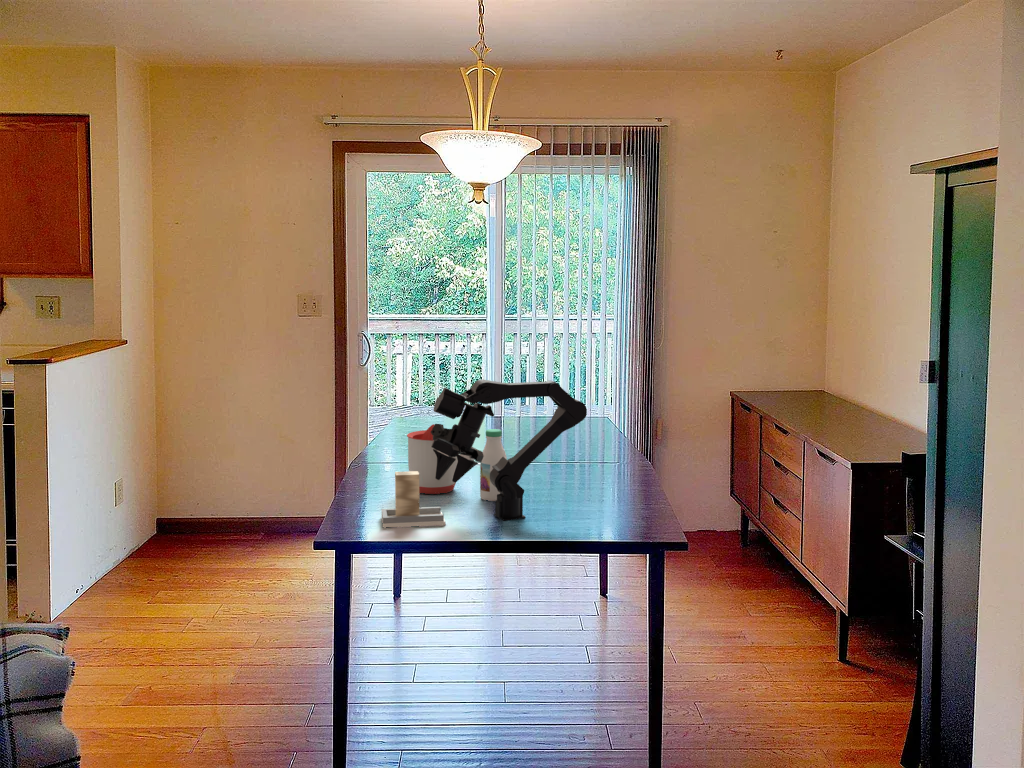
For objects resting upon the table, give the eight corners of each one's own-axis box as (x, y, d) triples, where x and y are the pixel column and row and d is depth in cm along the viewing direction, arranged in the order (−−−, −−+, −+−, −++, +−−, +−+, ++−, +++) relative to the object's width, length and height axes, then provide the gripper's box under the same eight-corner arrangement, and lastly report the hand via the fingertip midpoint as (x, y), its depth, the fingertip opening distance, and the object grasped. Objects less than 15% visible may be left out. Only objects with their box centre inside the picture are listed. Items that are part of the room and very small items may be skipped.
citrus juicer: (464, 497, 274) (463, 429, 272) (404, 496, 275) (403, 428, 272) (467, 484, 290) (467, 420, 287) (411, 484, 290) (410, 419, 288)
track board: (441, 515, 255) (441, 506, 255) (445, 525, 245) (445, 515, 245) (381, 517, 252) (381, 508, 252) (383, 528, 243) (383, 518, 242)
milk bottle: (506, 495, 277) (506, 427, 275) (507, 501, 270) (507, 432, 267) (480, 495, 277) (480, 427, 274) (480, 501, 269) (480, 432, 267)
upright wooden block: (418, 515, 251) (418, 471, 249) (419, 519, 247) (419, 474, 245) (395, 516, 250) (395, 471, 248) (396, 520, 246) (395, 475, 244)
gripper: (460, 418, 259) (438, 471, 259) (427, 409, 242) (403, 465, 243) (494, 434, 254) (471, 487, 254) (462, 425, 237) (437, 483, 238)
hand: (445, 480), depth 247 cm, fingers open, 9 cm apart
